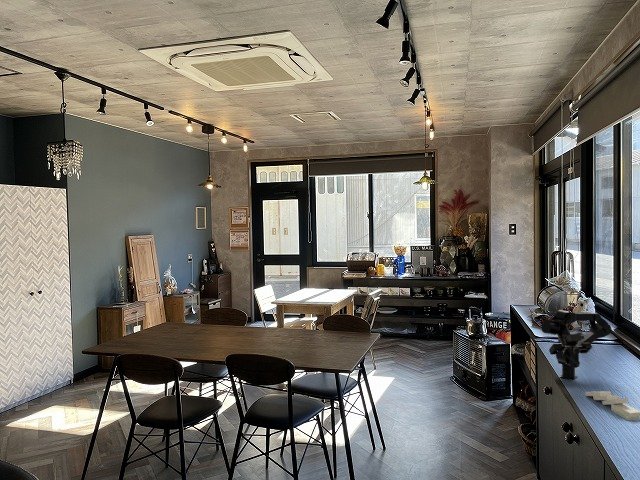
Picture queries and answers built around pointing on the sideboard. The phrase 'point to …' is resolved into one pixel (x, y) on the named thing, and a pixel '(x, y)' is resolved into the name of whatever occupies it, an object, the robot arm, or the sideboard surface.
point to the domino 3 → (615, 401)
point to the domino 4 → (626, 409)
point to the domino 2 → (606, 397)
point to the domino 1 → (598, 393)
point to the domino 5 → (625, 415)
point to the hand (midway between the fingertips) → (577, 364)
